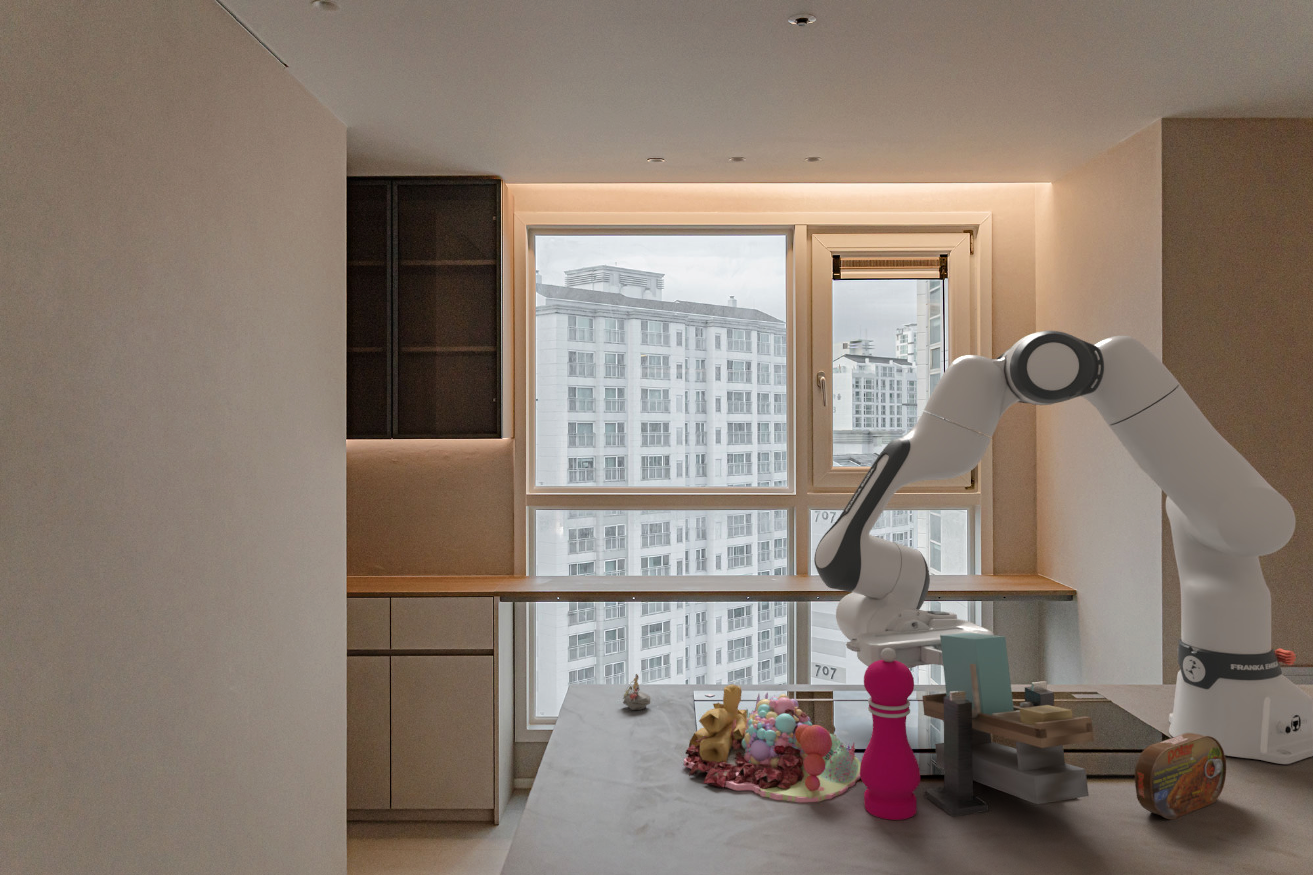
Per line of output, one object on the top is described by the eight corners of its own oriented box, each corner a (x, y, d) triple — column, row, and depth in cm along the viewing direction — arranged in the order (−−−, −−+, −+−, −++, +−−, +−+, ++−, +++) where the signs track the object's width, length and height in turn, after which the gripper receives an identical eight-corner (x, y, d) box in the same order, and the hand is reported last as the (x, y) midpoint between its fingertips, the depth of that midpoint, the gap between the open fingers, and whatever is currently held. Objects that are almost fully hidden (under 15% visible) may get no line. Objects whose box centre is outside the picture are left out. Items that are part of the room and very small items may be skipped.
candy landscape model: (660, 785, 116) (659, 717, 116) (713, 726, 138) (712, 668, 138) (849, 813, 107) (848, 739, 107) (874, 745, 129) (873, 683, 129)
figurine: (654, 706, 147) (654, 672, 147) (645, 714, 143) (644, 679, 143) (627, 703, 149) (626, 670, 149) (617, 711, 145) (616, 677, 145)
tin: (1154, 826, 102) (1154, 755, 101) (1129, 816, 104) (1128, 746, 104) (1229, 798, 108) (1229, 732, 108) (1203, 789, 111) (1203, 724, 111)
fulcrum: (1043, 777, 115) (1042, 673, 115) (1076, 796, 110) (1075, 686, 109) (924, 795, 111) (922, 686, 110) (951, 816, 105) (950, 701, 105)
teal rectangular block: (976, 707, 118) (968, 632, 119) (1014, 716, 110) (1005, 636, 112) (948, 710, 117) (940, 635, 118) (984, 720, 109) (975, 639, 110)
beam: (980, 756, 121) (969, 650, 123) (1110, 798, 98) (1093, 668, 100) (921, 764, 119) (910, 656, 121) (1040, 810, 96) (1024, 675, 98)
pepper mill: (923, 824, 103) (921, 657, 102) (861, 820, 104) (859, 655, 104) (917, 798, 110) (916, 641, 109) (859, 794, 111) (857, 639, 111)
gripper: (840, 621, 129) (888, 644, 116) (960, 611, 134) (1019, 631, 121) (841, 663, 129) (889, 691, 116) (961, 651, 134) (1020, 676, 121)
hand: (957, 660), depth 118 cm, fingers closed
